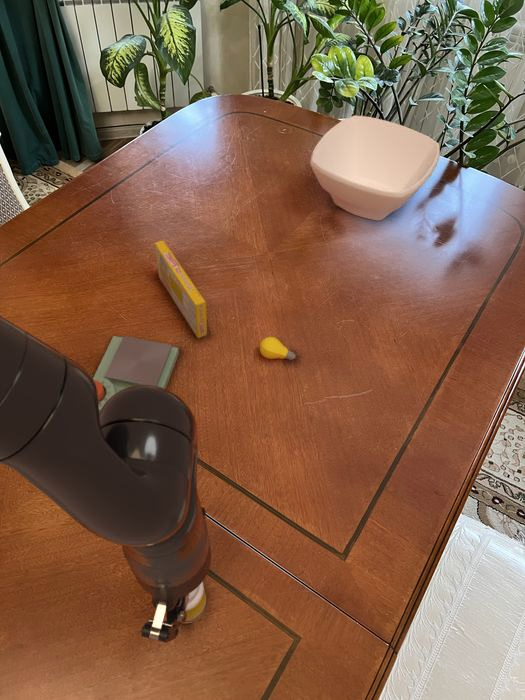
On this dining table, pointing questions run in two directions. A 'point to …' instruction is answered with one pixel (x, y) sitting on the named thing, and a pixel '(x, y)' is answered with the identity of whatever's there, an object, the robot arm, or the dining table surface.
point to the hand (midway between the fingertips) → (183, 593)
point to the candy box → (181, 289)
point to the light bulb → (275, 349)
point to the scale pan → (139, 361)
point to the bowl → (373, 165)
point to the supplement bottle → (196, 604)
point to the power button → (100, 391)
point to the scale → (116, 385)
